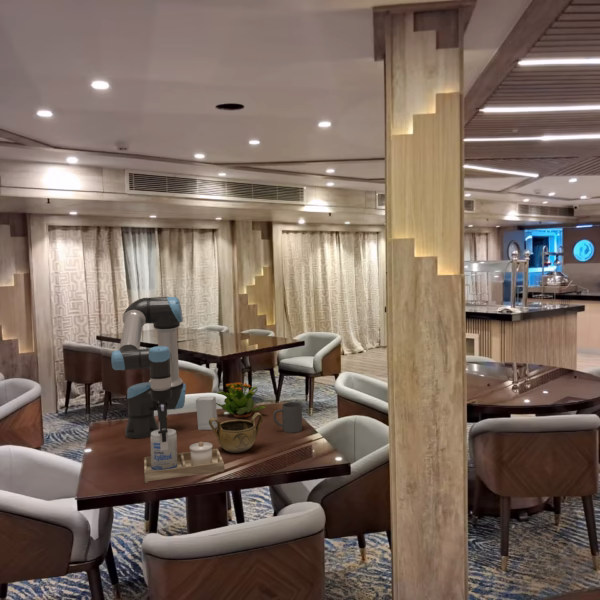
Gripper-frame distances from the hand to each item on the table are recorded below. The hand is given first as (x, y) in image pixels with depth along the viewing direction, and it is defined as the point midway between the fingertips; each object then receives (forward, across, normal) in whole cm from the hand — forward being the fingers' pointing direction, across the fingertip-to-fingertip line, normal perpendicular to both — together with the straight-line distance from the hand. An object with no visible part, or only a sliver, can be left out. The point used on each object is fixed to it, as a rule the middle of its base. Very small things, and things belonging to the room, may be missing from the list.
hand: (163, 444), depth 207 cm
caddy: (+11, +1, +7) cm, 13 cm away
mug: (+12, -33, +57) cm, 67 cm away
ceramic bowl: (+11, -14, +30) cm, 35 cm away
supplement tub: (+10, 0, 0) cm, 10 cm away
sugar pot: (+10, +1, +14) cm, 17 cm away
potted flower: (+12, -67, +42) cm, 80 cm away
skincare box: (+12, -51, +22) cm, 57 cm away
